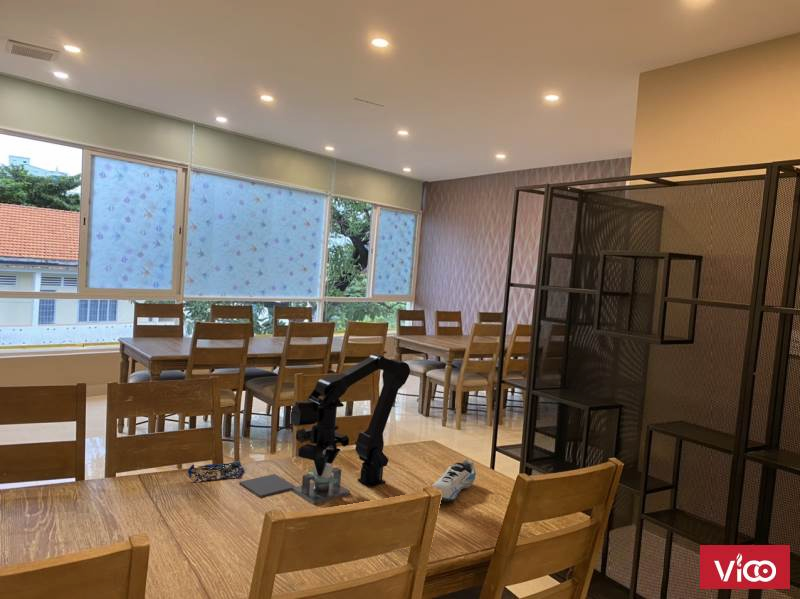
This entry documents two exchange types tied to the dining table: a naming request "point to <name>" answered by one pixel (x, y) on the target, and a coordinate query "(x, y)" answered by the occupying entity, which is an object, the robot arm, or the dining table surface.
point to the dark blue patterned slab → (223, 470)
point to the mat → (267, 485)
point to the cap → (324, 475)
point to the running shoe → (456, 479)
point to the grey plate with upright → (321, 488)
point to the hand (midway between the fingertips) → (322, 474)
